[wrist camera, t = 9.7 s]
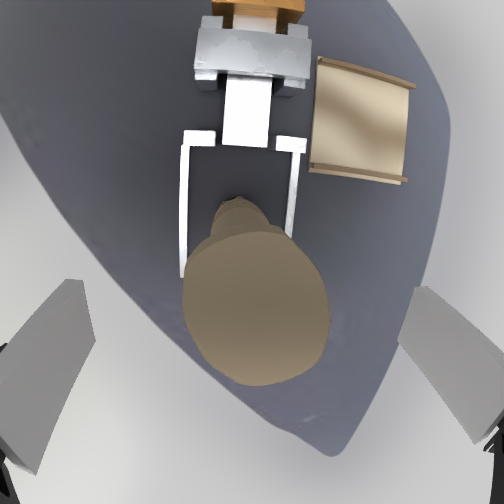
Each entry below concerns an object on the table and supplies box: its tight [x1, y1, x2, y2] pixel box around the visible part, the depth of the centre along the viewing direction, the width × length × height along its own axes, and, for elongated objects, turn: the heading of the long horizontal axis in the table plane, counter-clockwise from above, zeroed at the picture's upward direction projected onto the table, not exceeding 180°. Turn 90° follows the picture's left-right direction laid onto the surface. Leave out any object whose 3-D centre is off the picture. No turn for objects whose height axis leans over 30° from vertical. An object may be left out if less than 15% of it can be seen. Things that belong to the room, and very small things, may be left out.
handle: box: [183, 196, 331, 386], centre depth 17 cm, size 5×6×15 cm
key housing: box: [194, 16, 312, 97], centre depth 17 cm, size 5×7×5 cm
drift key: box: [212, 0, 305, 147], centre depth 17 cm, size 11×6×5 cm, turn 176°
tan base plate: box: [308, 56, 415, 185], centre depth 21 cm, size 10×9×2 cm
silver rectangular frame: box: [179, 131, 307, 278], centre depth 22 cm, size 13×9×4 cm
